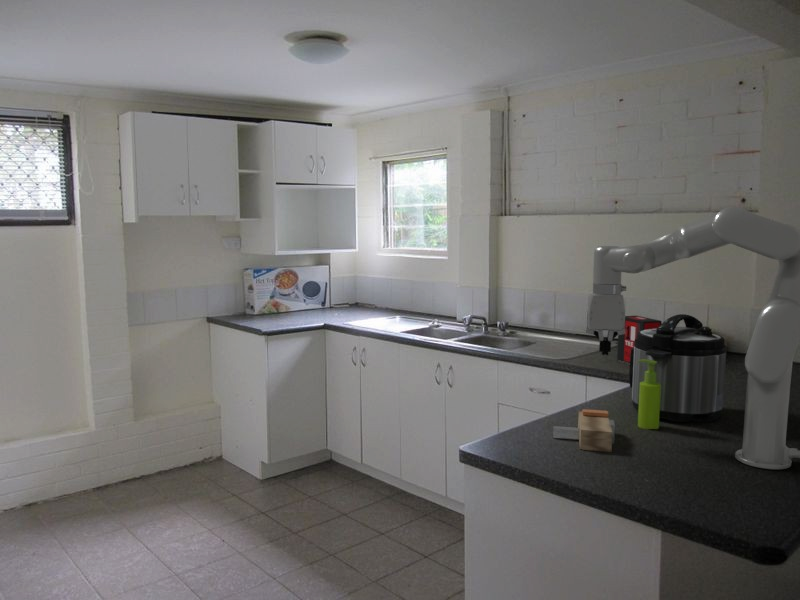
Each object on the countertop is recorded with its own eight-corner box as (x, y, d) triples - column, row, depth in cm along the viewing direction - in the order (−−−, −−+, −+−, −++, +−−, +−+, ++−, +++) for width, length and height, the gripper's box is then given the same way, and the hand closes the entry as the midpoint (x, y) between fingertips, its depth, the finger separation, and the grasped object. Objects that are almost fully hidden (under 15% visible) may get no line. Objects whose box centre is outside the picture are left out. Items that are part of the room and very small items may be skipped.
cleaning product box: (659, 368, 279) (661, 320, 277) (641, 369, 277) (643, 321, 275) (634, 360, 295) (636, 315, 293) (617, 361, 292) (619, 316, 290)
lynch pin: (612, 437, 187) (613, 419, 187) (614, 443, 182) (614, 425, 182) (553, 433, 191) (553, 415, 190) (553, 439, 186) (553, 421, 185)
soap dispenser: (638, 421, 203) (641, 357, 201) (661, 426, 199) (664, 360, 196) (631, 426, 199) (634, 360, 196) (654, 431, 194) (658, 363, 192)
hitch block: (606, 431, 194) (607, 413, 193) (611, 451, 176) (612, 432, 176) (577, 429, 195) (578, 411, 195) (580, 449, 178) (580, 429, 177)
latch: (607, 414, 191) (607, 410, 191) (608, 417, 189) (608, 413, 189) (582, 412, 193) (582, 409, 193) (582, 415, 190) (582, 411, 190)
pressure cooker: (691, 399, 230) (696, 308, 226) (746, 423, 202) (753, 320, 199) (610, 402, 225) (614, 309, 221) (655, 428, 197) (660, 321, 194)
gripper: (633, 289, 190) (630, 352, 192) (578, 288, 193) (577, 351, 195) (636, 291, 182) (634, 357, 184) (579, 290, 185) (578, 355, 187)
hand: (604, 354), depth 190 cm, fingers closed
